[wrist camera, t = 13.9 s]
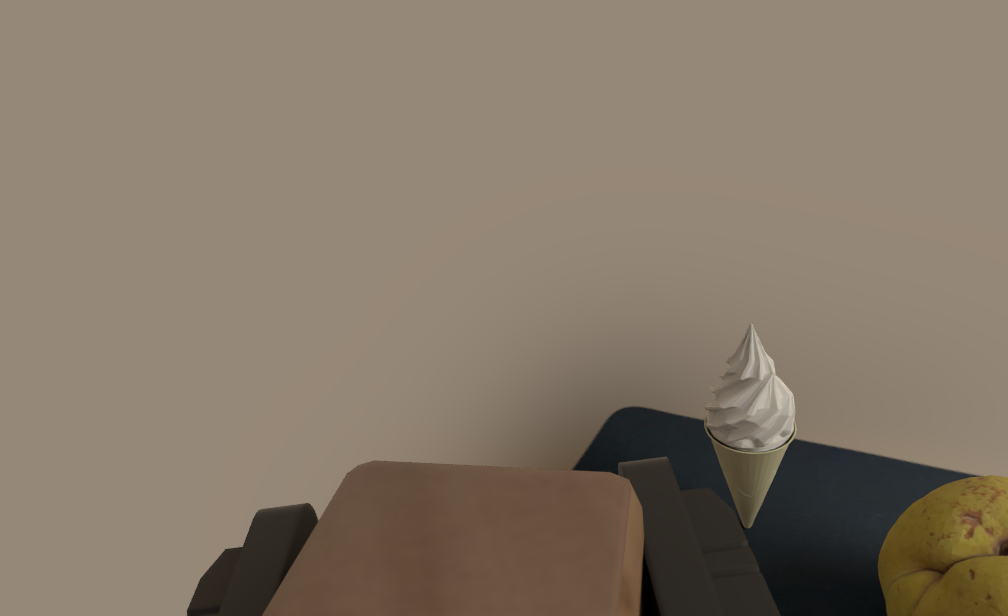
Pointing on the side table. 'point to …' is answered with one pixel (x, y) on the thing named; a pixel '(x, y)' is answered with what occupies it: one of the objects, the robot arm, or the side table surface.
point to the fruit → (949, 552)
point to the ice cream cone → (750, 424)
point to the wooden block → (471, 545)
